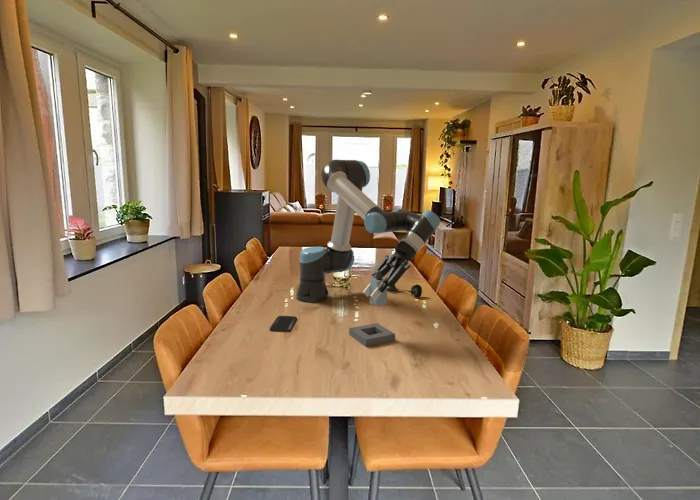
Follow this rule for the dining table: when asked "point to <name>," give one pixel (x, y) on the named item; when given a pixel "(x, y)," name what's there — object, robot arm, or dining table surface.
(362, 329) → the frame
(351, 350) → the dining table surface
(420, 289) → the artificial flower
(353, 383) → the dining table surface
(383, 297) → the connector plug
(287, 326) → the phone
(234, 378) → the dining table surface
